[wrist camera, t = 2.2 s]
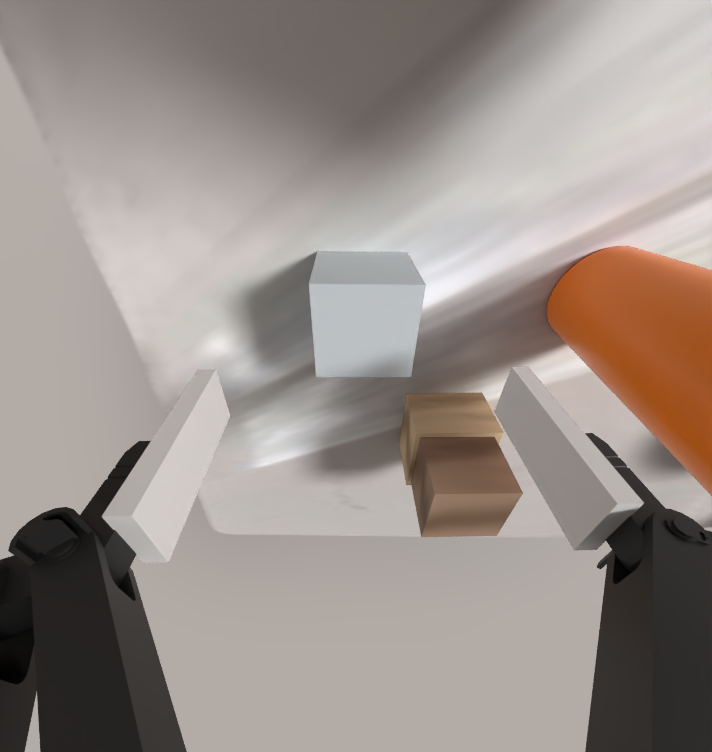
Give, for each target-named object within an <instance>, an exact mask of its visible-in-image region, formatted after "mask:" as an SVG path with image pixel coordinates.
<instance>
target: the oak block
mask: <svg viewBox="0 0 712 752" xmlns="http://www.w3.org/2000/svg"><path fill="white" fill-rule="evenodd" d="M502 435H503V431H502V429H501V427H500V425H499V423H498V421H497V420H496V418H495V416H494V414H493V412H492V410H491V408H490V407H489V405H488V403H487V401H486V399H485V397H484V396H483V394H482V393H406V400H405V407H404V414H403V421H402V428H401V435H400V442H399V446H400V451H401V457H402V463H403V468H404V474H405V480H406V485H412V484H411V478H412V474H413V469H414V465H415V460H416V455H417V451H418V446H419V441H420V437H495V439H496V441H497V443H498V444H499V442H500V439H501V437H502Z"/></svg>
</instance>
